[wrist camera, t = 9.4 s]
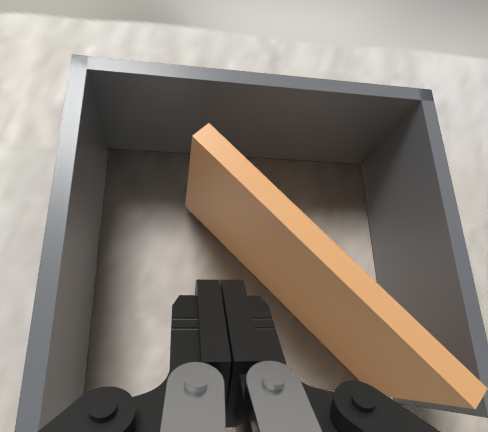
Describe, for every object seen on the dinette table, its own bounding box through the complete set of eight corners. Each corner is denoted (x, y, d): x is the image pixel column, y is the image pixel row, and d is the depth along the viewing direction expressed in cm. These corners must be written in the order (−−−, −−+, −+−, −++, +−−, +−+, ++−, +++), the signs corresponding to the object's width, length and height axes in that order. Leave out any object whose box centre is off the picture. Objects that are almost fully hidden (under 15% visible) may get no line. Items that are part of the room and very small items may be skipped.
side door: (196, 196, 20) (209, 122, 14) (383, 380, 19) (487, 388, 13) (185, 206, 20) (192, 135, 14) (373, 394, 18) (475, 409, 12)
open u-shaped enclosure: (91, 137, 21) (63, 53, 15) (368, 155, 23) (431, 89, 18) (57, 417, 16) (0, 445, 11) (405, 401, 19) (504, 416, 13)
